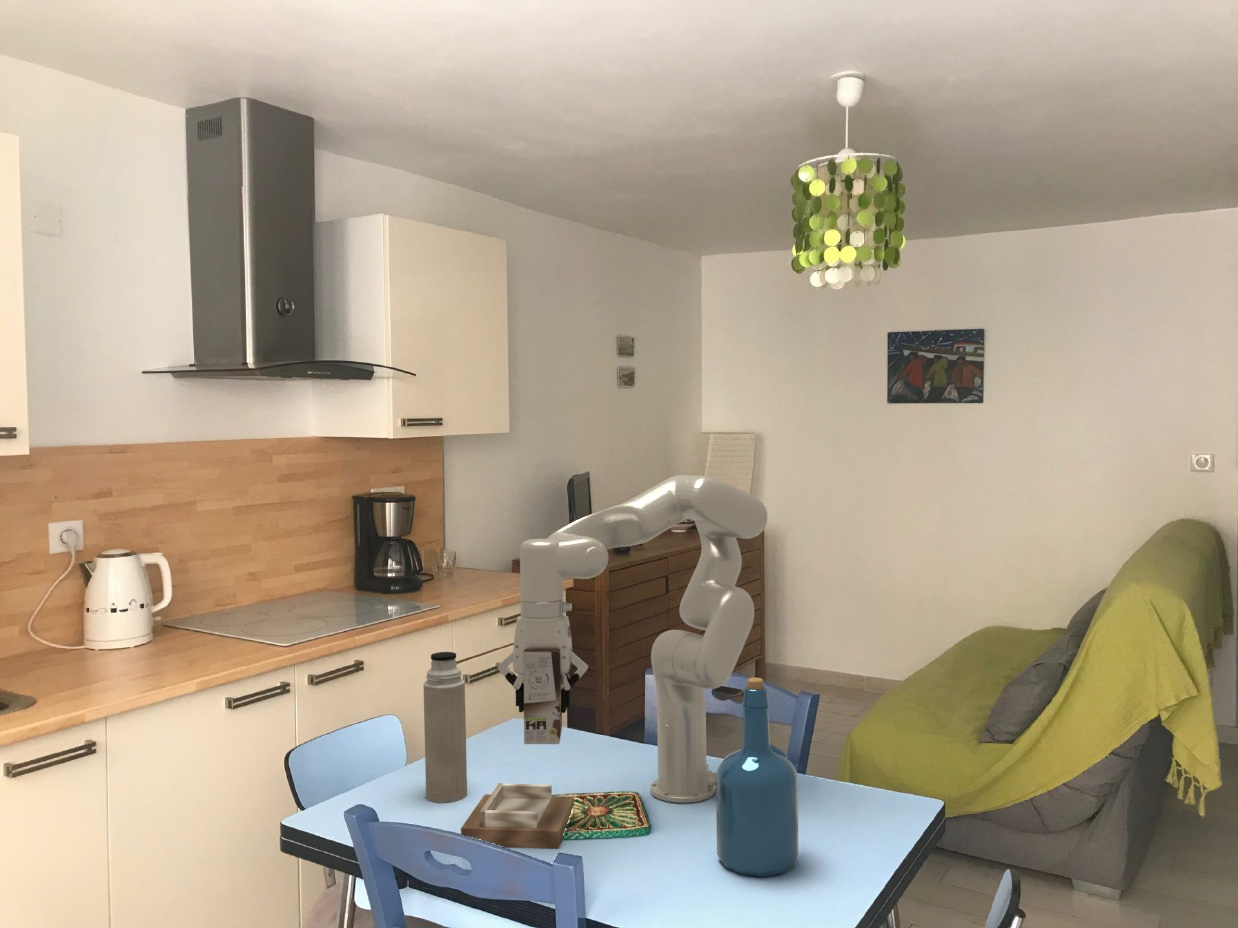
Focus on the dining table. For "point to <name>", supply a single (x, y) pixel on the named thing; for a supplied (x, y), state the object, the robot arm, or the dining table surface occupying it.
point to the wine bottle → (757, 797)
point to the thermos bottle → (445, 730)
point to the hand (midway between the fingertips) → (543, 709)
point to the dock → (520, 817)
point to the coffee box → (542, 696)
